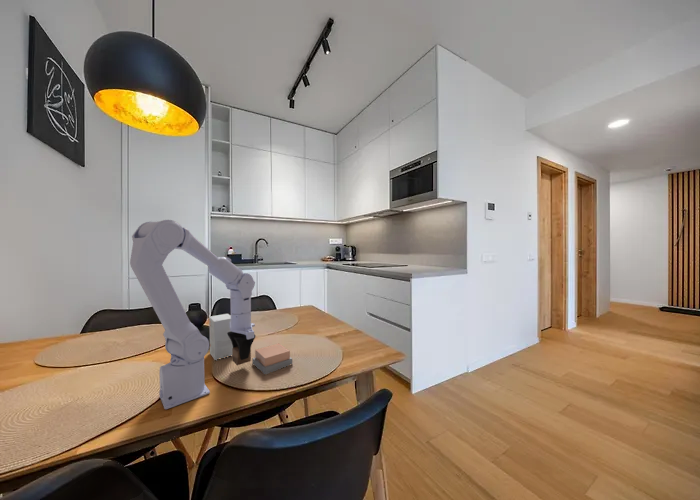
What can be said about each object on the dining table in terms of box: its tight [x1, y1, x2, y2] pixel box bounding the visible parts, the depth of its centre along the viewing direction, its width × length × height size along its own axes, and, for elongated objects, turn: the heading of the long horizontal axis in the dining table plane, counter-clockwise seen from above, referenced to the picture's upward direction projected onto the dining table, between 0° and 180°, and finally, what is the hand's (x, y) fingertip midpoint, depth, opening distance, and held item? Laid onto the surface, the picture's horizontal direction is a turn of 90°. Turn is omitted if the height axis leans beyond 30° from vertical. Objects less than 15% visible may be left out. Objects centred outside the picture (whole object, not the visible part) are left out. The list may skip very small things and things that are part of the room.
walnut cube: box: [231, 347, 252, 366], centre depth 79 cm, size 4×4×4 cm
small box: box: [208, 313, 233, 361], centre depth 89 cm, size 8×6×13 cm
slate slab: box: [251, 356, 293, 375], centre depth 81 cm, size 9×9×2 cm
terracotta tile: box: [254, 343, 291, 366], centre depth 82 cm, size 8×8×2 cm
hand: (241, 356), depth 79 cm, fingers closed on walnut cube, 4 cm apart
